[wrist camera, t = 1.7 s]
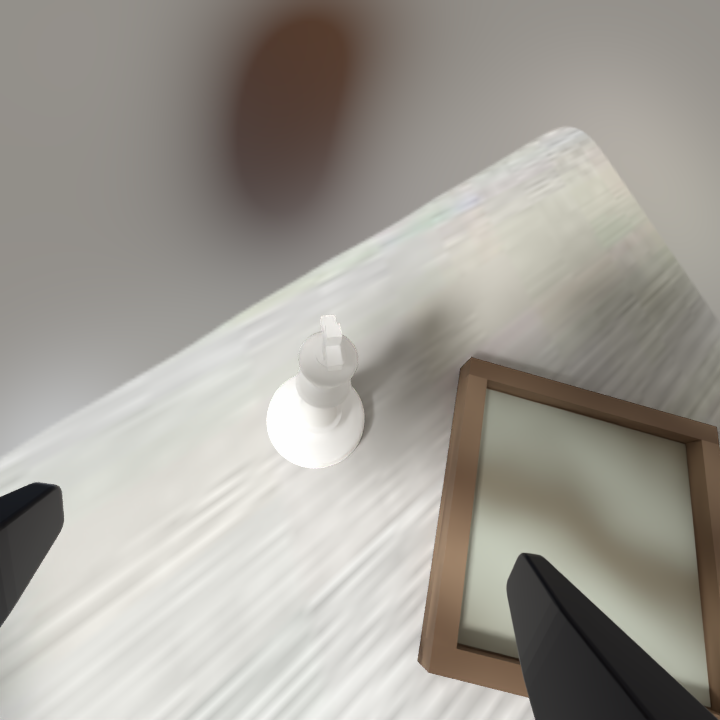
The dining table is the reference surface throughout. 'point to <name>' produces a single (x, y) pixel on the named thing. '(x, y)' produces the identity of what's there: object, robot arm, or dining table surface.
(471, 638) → the walnut tray
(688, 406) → the dining table surface
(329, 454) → the chess piece
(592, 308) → the dining table surface
